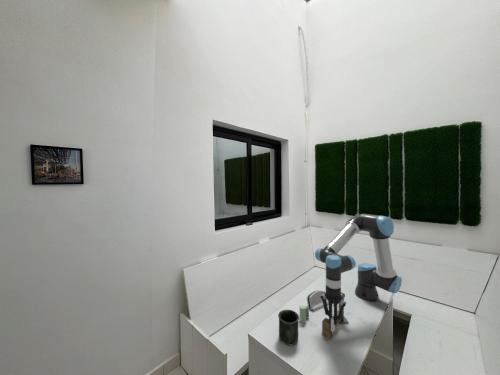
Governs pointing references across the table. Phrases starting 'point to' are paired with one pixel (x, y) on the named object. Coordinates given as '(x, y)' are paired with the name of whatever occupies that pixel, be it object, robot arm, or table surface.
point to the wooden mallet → (328, 328)
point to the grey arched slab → (315, 300)
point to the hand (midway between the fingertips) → (332, 329)
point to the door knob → (343, 319)
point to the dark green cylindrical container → (288, 326)
